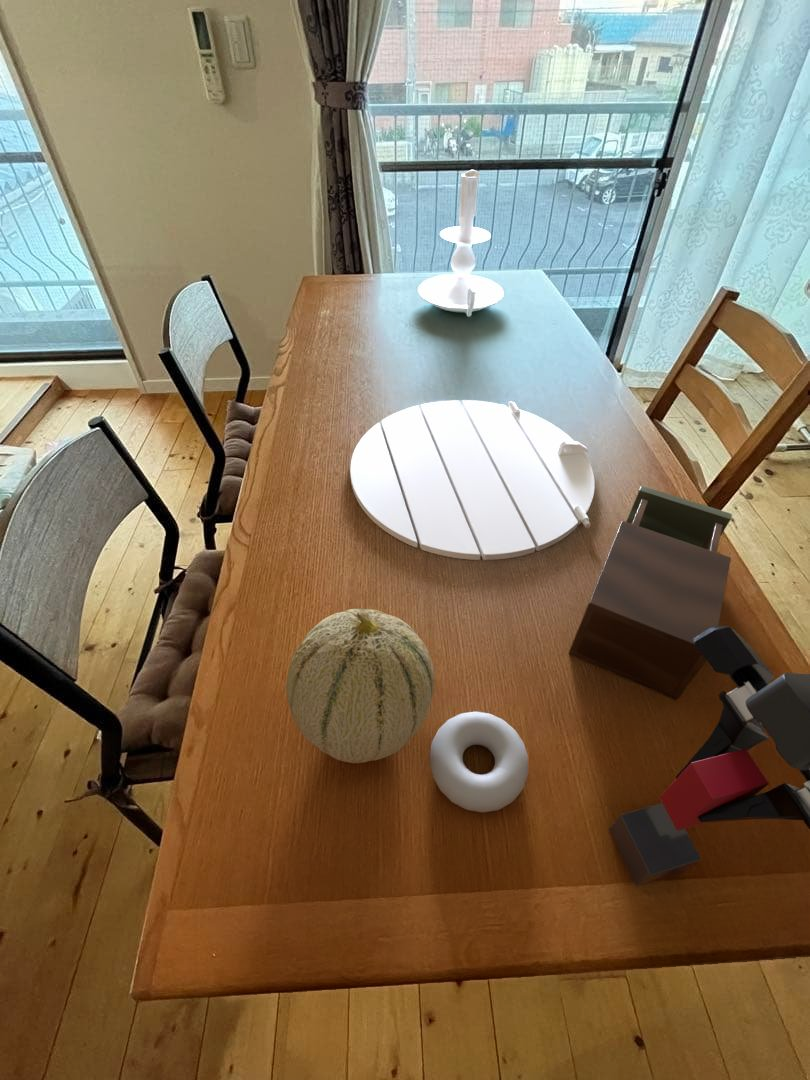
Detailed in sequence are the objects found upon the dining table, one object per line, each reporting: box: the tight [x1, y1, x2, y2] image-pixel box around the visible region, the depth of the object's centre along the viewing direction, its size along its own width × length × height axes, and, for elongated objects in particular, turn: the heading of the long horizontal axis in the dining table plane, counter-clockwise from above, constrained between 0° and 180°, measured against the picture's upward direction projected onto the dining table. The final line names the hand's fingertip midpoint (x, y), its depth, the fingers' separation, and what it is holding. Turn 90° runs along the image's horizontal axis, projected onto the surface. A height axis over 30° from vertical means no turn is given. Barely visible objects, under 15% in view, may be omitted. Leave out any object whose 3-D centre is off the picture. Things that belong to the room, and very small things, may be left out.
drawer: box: [625, 484, 733, 553], centre depth 73 cm, size 18×11×8 cm, turn 151°
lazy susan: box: [349, 399, 596, 561], centre depth 89 cm, size 40×39×3 cm
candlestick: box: [417, 169, 505, 317], centre depth 124 cm, size 21×25×28 cm
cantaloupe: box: [285, 608, 435, 764], centre depth 55 cm, size 15×15×15 cm
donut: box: [429, 711, 529, 814], centre depth 56 cm, size 10×4×10 cm
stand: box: [608, 802, 702, 887], centre depth 50 cm, size 5×5×4 cm
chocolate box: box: [658, 749, 770, 831], centre depth 42 cm, size 4×3×7 cm, turn 103°
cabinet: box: [568, 520, 732, 701], centre depth 65 cm, size 15×13×10 cm
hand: (689, 799), depth 42 cm, fingers closed on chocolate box, 3 cm apart
